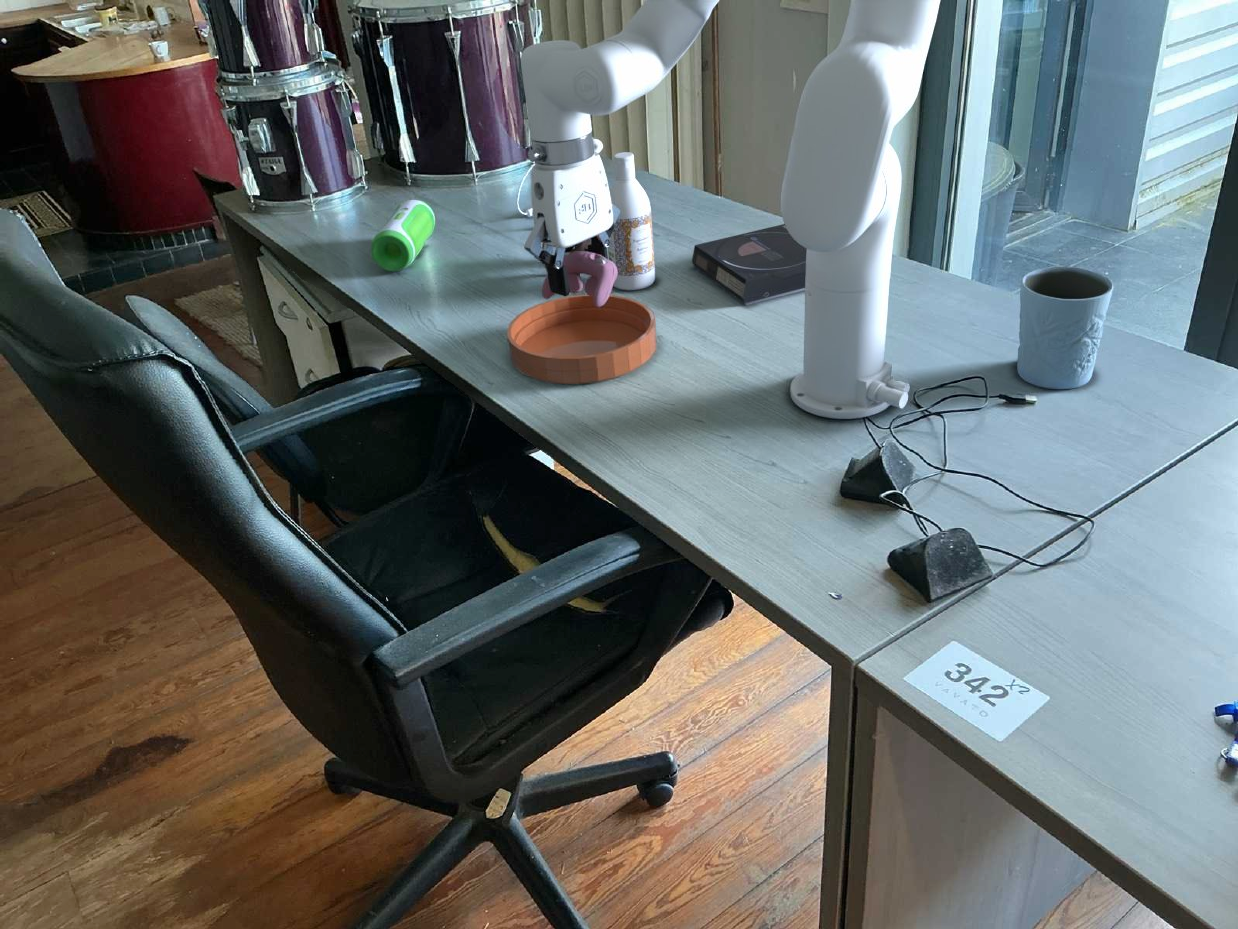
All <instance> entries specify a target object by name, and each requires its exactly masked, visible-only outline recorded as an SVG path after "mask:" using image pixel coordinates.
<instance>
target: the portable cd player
mask: <svg viewBox="0 0 1238 929" xmlns="http://www.w3.org/2000/svg"><path fill="white" fill-rule="evenodd" d="M806 253H807V248H805V247H803V246H802V245H800V244H799V243H798V242H797V241H795V240H794V238H793V237H792V236H791V235H790V233H789V232H788V230H787V228H786V226H785V224H784V223H782V224H778V225H773V226H770V227H766V228H762V229H757V230H752V231H748V232H744V233H741V234H737V235H732V236H728V237H724V238H719V239H714V240H710V241H706V242H702V243H698V244H694V247H693V254H692V260H691V263H692V265H693V267H694V269H695V270H696V271H697V272H699V273H700V274H702V275H703V276H704V277H706V278H708V279H709V280H710V281H712V282H713V283H715V285H717V286H718V287H720V288H721V289H723V290H724V291H726V292H727V293H729V294H730V295H731V296H733V297H734V298H736V300H738V301H740V302H741V303H743V304H744V305H745V306H749V305H753V304H758V303H761V302H764V301H768V300H772V299H773V300H774V299H776V298H781V297H785V296H788V295H792V294H795V293H796V294H797V293H800V292H803V291H804V292H805V276H806Z"/></svg>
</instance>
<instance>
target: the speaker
mask: <svg viewBox="0 0 1238 929" xmlns="http://www.w3.org/2000/svg"><path fill="white" fill-rule="evenodd" d="M435 227H436V216H435V212H434V210H433V209H432V207H431V206H430V205H429V204H428V203H426V202H425V201H423V200H420V199H409V200H406V201H404V202H402V203H400V204H399V205H398V206H397V207H396V208H395V210H394V213H392V215H391V216H390V217H389V219H388V220H387V221H386V223H385V224H384V225H383V226H382V227H381V228H380V229H379V230H378V231H377V232H376V234H375V235H374V237H373V238H372V242H371V255H372V258H373V260H374V262H375V264H377V265H378V266H379V267H380V268H382V269H383V270H385V271H388V272H394V273H395V272H400V271H402V270H404V269H406V268H408V267H409V266H411V265H412V264H413V263H414V261H415V259H417V257H418V255H419V253H420V252H421V250H422V249H423V248H424V245H425V243H426V241H427V240H428V239H429V238H430V237H431V235H432V234H433V233H434V231H435Z"/></svg>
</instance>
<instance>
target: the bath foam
mask: <svg viewBox="0 0 1238 929" xmlns="http://www.w3.org/2000/svg"><path fill="white" fill-rule="evenodd" d="M613 166H614V167H613V168H614V177H615V180H614V182H613V184H612V185H611V187H610V188H609V192H610V198H611V204H613V205H614V206H615V207H617V208H618V209H619V210H620V214H619V216H618V219H617V221H616V223H615V224H614V230H613V233H612V235H611V237H610V245H609V247H607V254H608V260H610V261H612V262H613V263H614V264H615V265H616V267H617V270H618V274H617V278H616V280H615V282H614V283H613V287H614V288H616V289H618V290H622V291H637V290H642V289H646V288H648V287H650V286H652V285H653V284H654V282H655V281H656V269H655V254H654V253H655V252H654V251H655V250H654V236H653V222H652V221H653V220H652V208H651V202H650V199H649V197H648V195H647V194H648V193H646V191H645V190H644V188H643V187H642V185H641V184H640V182H639V181H638V180H637V179H636V170H635V157H634V154H633V152H628V151H623V152H617V153H615V154H614V155H613Z"/></svg>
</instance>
